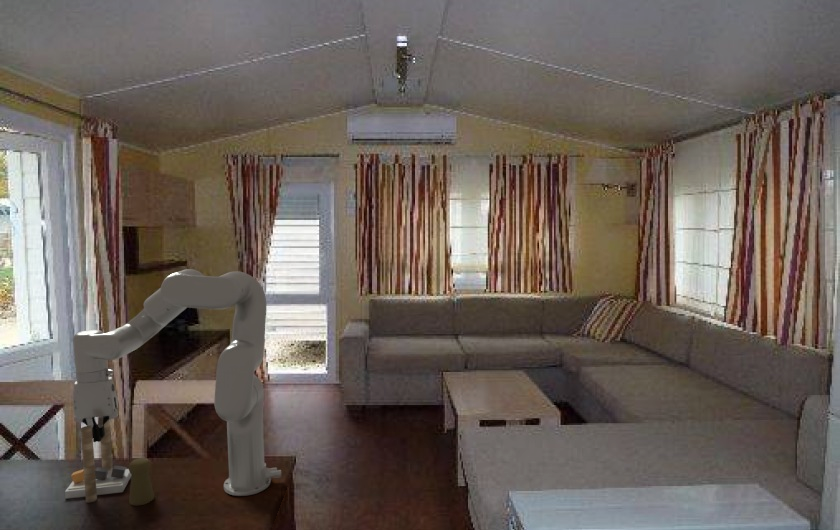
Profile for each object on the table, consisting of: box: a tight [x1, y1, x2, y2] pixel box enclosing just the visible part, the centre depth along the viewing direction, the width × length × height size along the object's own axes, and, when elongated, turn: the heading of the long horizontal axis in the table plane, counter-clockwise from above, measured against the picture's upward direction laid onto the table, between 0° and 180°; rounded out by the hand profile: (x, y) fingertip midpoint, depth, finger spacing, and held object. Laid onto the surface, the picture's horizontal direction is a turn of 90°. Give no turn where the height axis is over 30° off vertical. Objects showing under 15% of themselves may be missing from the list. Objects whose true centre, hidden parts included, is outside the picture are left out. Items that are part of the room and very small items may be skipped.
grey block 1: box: [95, 466, 109, 480], centre depth 158 cm, size 3×2×2 cm, turn 105°
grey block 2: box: [111, 465, 127, 478], centre depth 159 cm, size 3×2×2 cm, turn 105°
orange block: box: [70, 469, 84, 483], centre depth 157 cm, size 3×2×2 cm, turn 103°
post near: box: [80, 425, 98, 504], centre depth 150 cm, size 3×3×20 cm
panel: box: [64, 468, 132, 499], centre depth 158 cm, size 14×10×2 cm
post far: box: [100, 420, 114, 471], centre depth 165 cm, size 3×3×20 cm
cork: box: [128, 457, 155, 506], centre depth 151 cm, size 6×6×11 cm
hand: (98, 439), depth 157 cm, fingers closed
